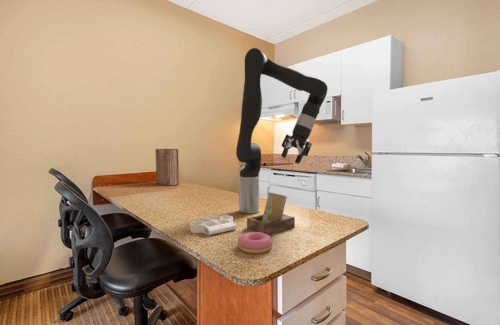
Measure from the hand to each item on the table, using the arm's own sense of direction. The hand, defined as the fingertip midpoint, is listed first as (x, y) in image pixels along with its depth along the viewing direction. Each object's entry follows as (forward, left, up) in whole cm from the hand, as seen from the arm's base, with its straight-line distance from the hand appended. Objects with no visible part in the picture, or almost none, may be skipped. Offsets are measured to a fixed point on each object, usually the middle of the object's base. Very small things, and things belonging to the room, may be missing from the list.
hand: (289, 160), depth 114 cm
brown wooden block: (-136, -2, -26) cm, 139 cm away
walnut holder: (+6, -18, -25) cm, 32 cm away
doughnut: (+17, -36, -26) cm, 47 cm away
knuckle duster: (-8, -35, -26) cm, 44 cm away
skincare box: (+7, -19, -24) cm, 32 cm away
